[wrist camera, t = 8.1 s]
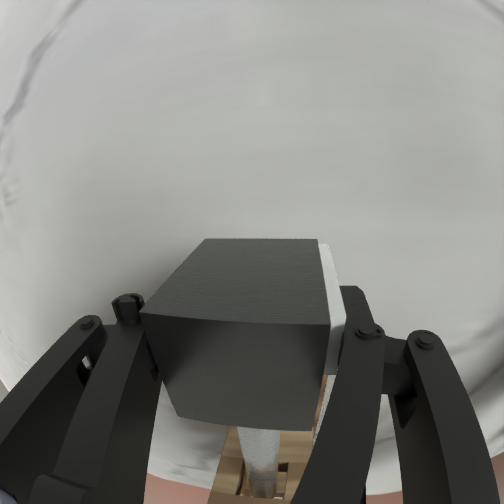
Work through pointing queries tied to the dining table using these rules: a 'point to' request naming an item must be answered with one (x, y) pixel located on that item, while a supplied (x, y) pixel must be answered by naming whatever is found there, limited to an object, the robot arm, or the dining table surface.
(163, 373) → the shaft
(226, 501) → the bearing rig
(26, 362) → the dining table surface
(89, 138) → the dining table surface
